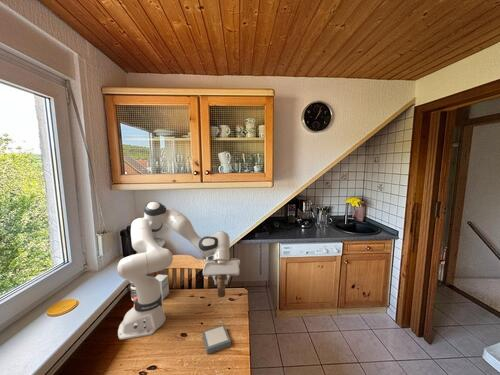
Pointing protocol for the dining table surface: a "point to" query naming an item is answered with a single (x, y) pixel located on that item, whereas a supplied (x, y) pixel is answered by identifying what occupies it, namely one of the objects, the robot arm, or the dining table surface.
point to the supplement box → (163, 285)
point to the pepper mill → (221, 285)
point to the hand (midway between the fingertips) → (221, 284)
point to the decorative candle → (133, 291)
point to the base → (216, 339)
